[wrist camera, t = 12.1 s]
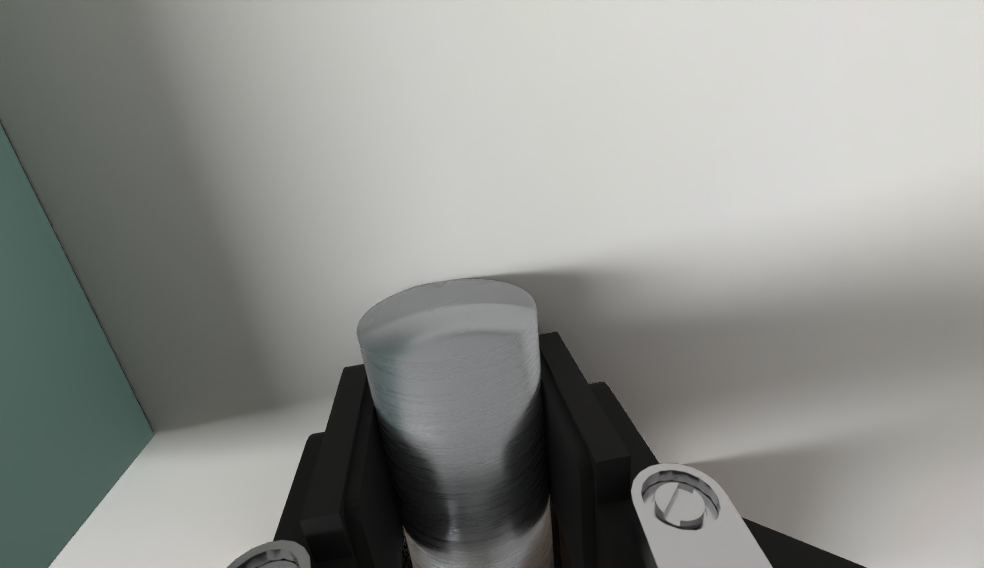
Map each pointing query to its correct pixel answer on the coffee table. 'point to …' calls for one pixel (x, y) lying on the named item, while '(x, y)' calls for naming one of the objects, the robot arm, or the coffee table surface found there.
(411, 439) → the axle
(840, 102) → the coffee table surface
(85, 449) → the v block
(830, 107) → the coffee table surface
